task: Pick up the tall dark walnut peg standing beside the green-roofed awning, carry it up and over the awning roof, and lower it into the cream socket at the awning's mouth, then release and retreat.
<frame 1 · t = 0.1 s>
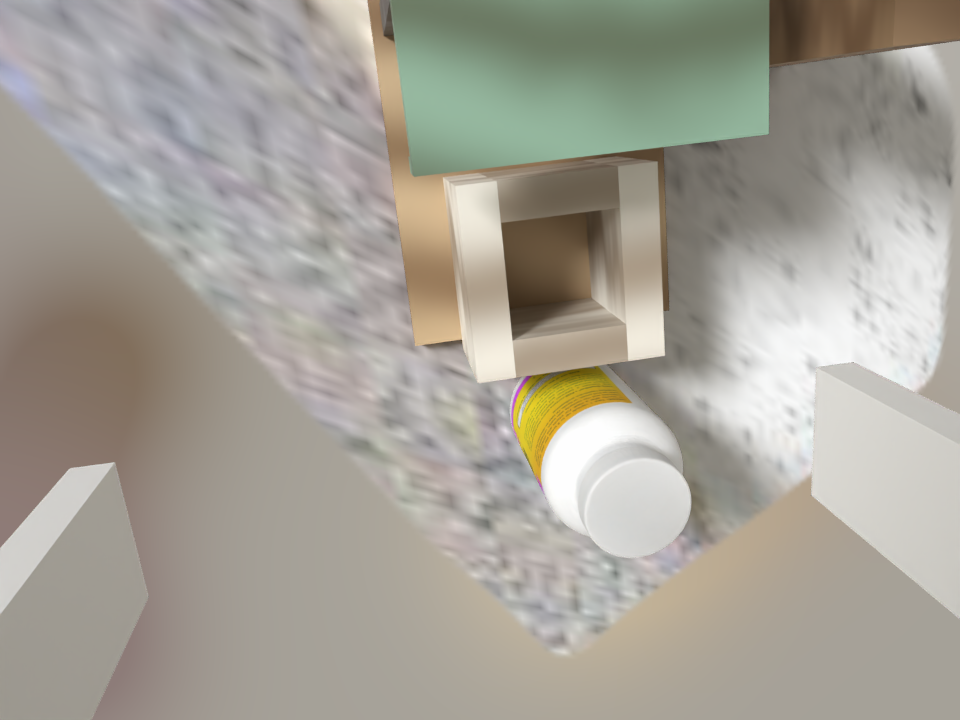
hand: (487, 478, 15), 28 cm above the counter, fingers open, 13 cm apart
supplement bottle: (564, 403, 45), on the counter
walnut peg: (746, 28, 40), on the counter
awning station: (526, 155, 41), on the counter
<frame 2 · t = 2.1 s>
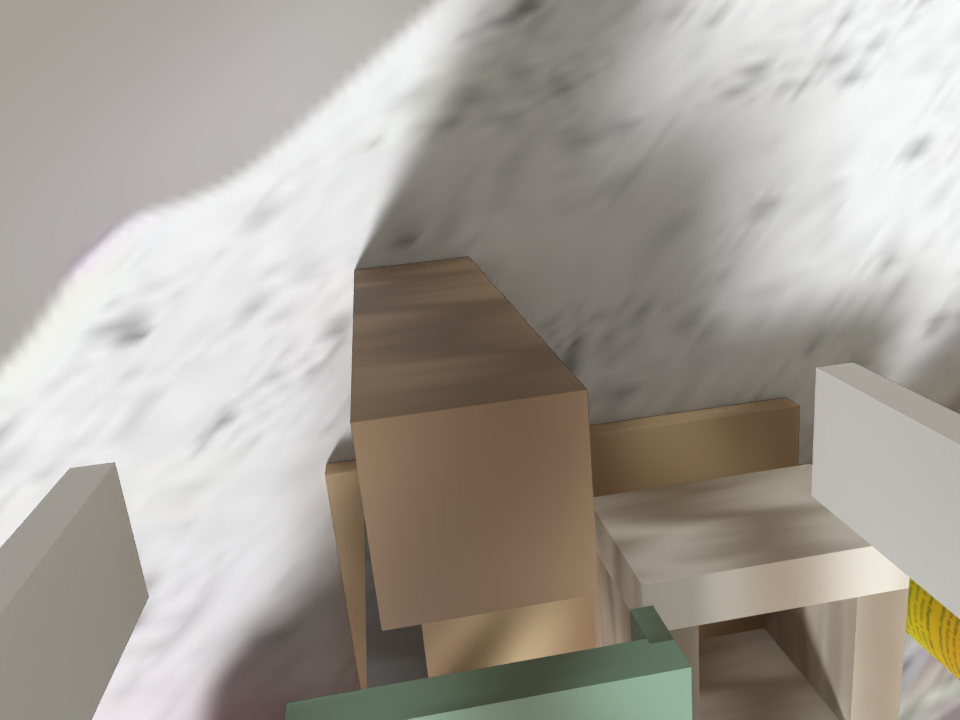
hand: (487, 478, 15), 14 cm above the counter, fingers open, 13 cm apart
supplement bottle: (890, 511, 34), on the counter
walnut peg: (418, 318, 28), on the counter
awning station: (574, 588, 32), on the counter
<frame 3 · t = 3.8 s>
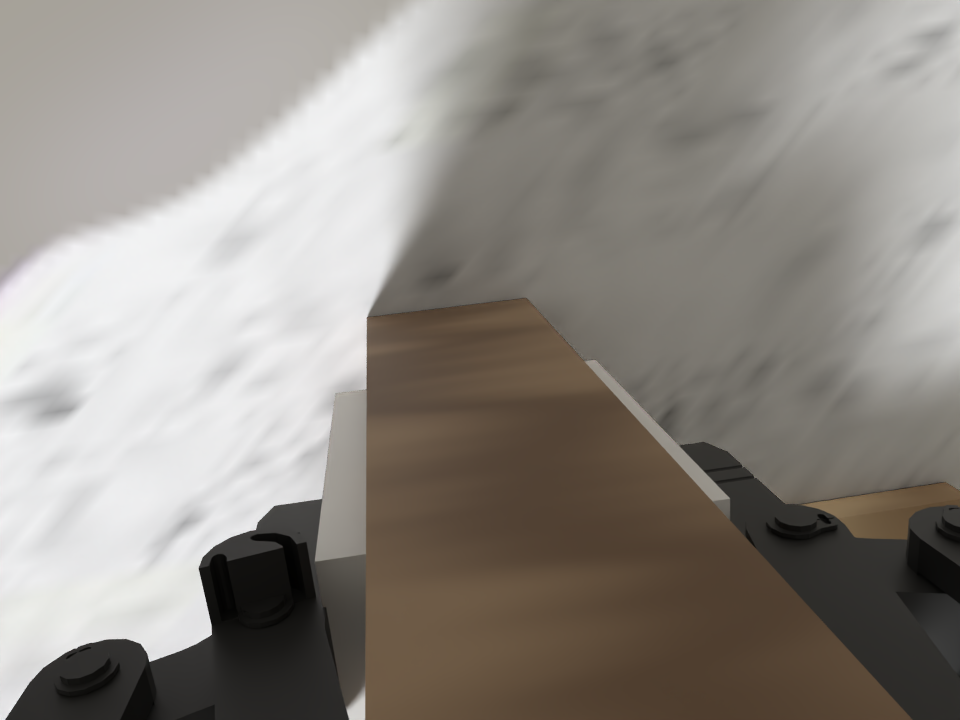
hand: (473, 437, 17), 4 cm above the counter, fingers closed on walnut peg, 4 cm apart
walnut peg: (455, 383, 20), on the counter, touching gripper
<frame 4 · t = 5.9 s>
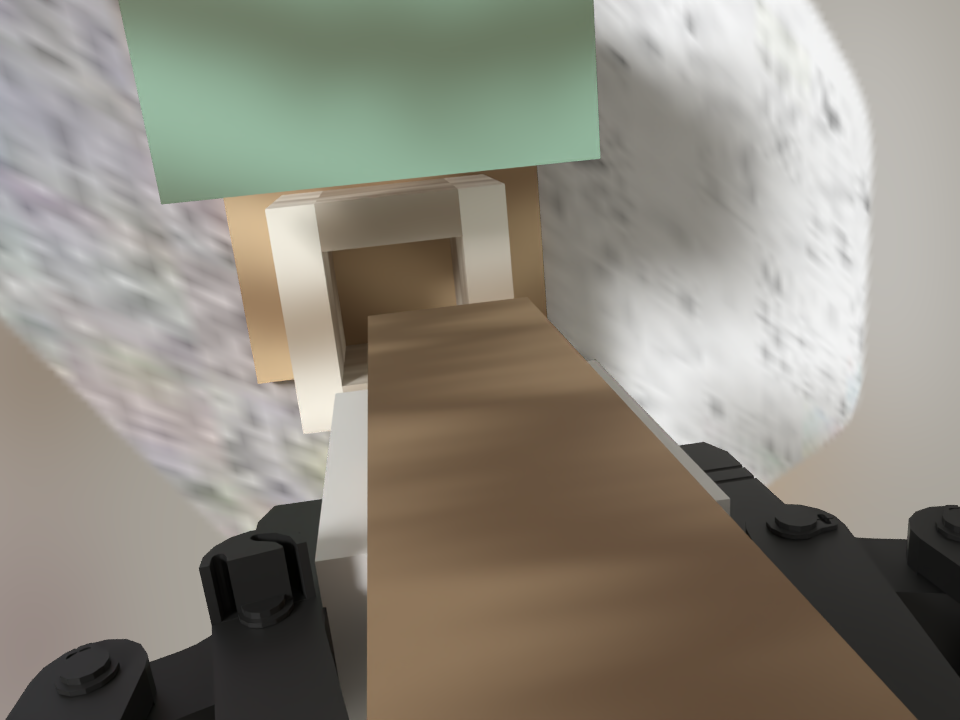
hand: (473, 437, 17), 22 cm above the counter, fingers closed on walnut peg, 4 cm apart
walnut peg: (456, 382, 20), point 18 cm above the counter, touching gripper
awning station: (381, 171, 36), on the counter
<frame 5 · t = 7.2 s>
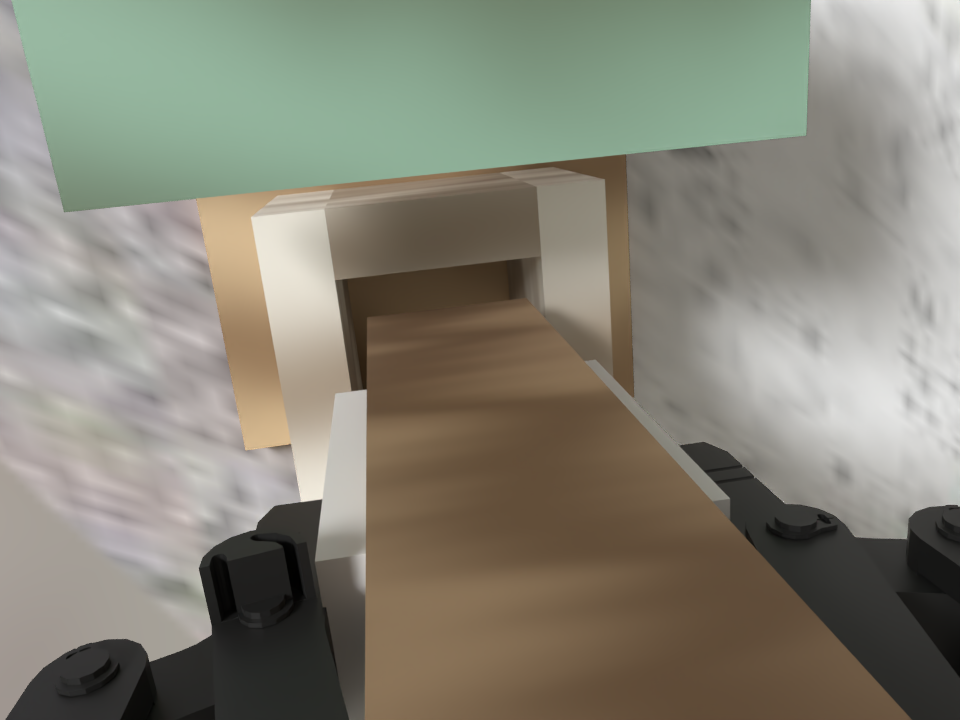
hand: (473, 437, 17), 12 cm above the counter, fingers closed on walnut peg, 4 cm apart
walnut peg: (455, 383, 20), point 8 cm above the counter, touching gripper
awning station: (414, 163, 26), on the counter
when the fingers open (8 cm above the counter, at t = 8.1 s): walnut peg drops 4 cm, resting on awning station.
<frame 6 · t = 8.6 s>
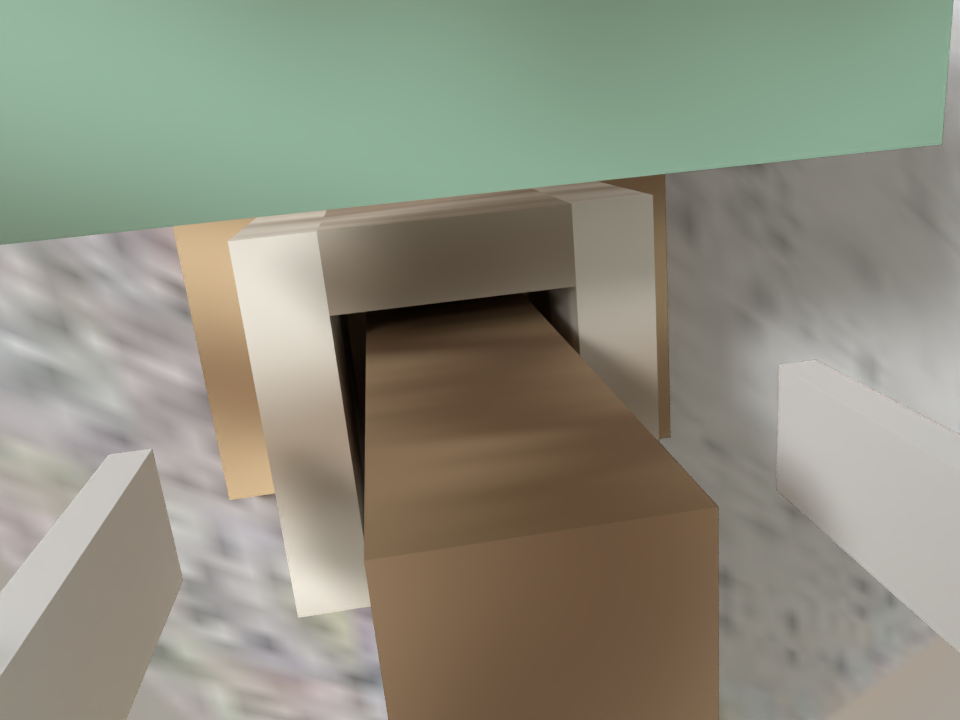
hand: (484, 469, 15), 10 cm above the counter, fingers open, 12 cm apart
walnut peg: (442, 345, 24), point 1 cm above the counter, touching awning station
awning station: (421, 173, 23), on the counter
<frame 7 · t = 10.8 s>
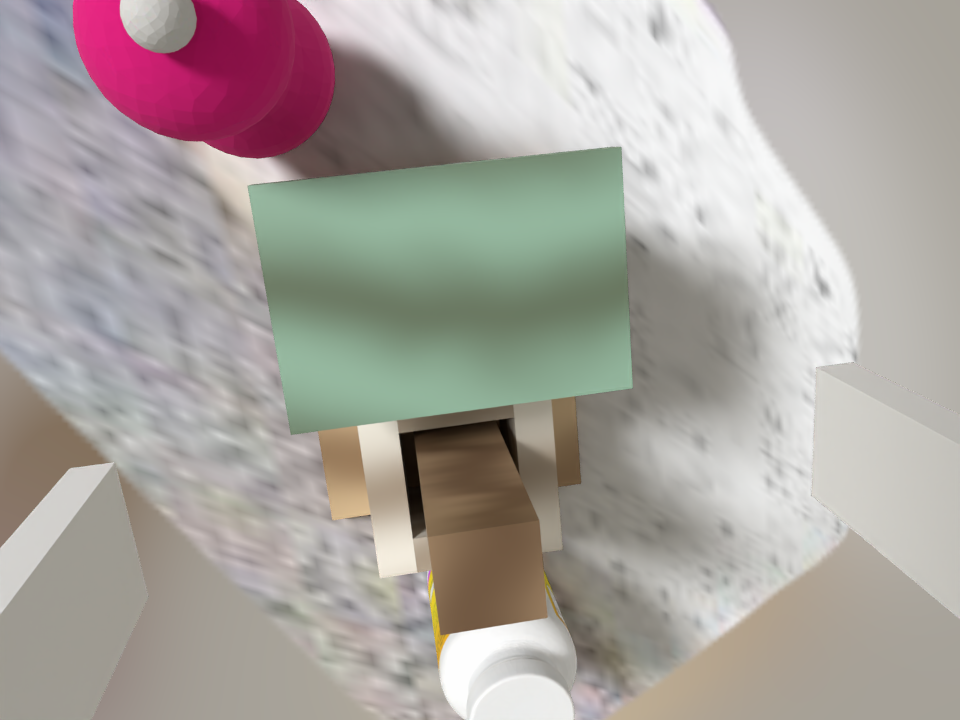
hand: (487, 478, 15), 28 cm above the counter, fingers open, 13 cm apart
supplement bottle: (482, 567, 46), on the counter
walnut peg: (450, 434, 43), point 1 cm above the counter, touching awning station
awning station: (439, 341, 42), on the counter
pepper mill: (263, 80, 38), on the counter
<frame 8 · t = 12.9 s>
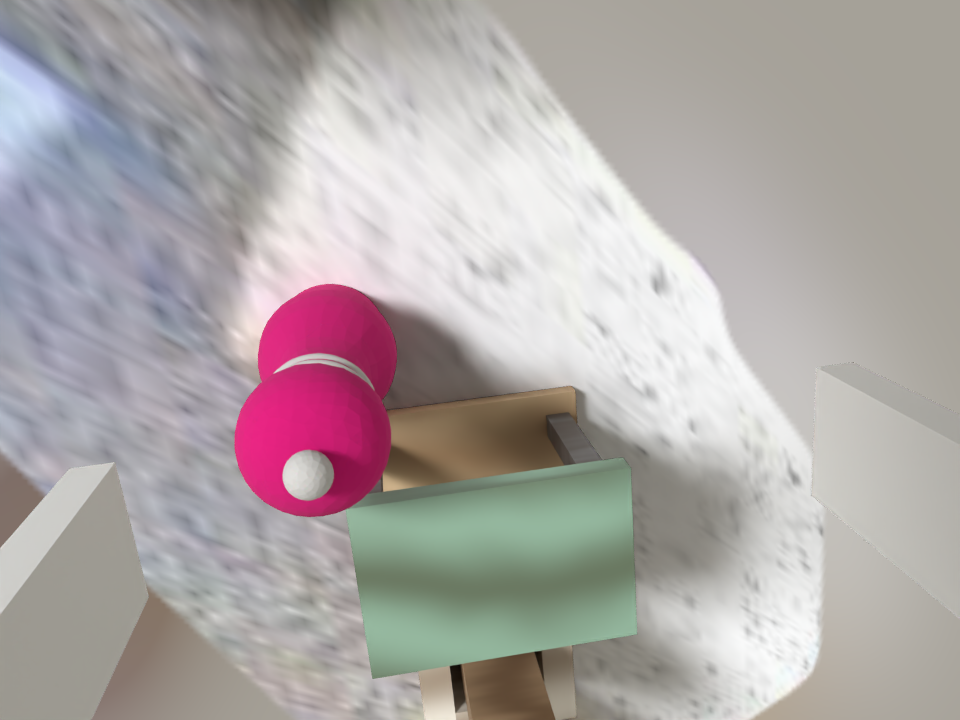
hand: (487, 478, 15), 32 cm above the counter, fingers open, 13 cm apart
walnut peg: (482, 606, 51), point 1 cm above the counter, touching awning station
awning station: (473, 531, 51), on the counter
pepper mill: (332, 335, 46), on the counter
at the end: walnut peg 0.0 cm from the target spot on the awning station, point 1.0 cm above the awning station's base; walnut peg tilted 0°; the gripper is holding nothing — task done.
